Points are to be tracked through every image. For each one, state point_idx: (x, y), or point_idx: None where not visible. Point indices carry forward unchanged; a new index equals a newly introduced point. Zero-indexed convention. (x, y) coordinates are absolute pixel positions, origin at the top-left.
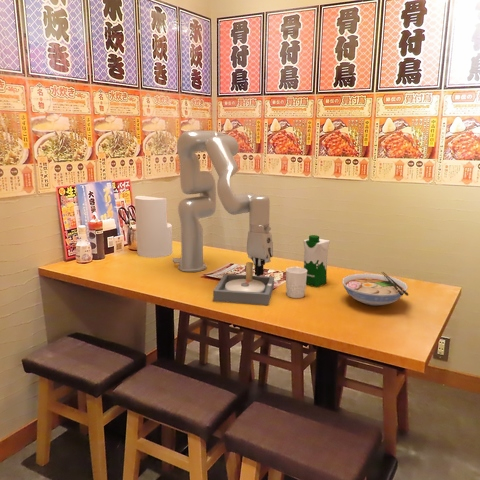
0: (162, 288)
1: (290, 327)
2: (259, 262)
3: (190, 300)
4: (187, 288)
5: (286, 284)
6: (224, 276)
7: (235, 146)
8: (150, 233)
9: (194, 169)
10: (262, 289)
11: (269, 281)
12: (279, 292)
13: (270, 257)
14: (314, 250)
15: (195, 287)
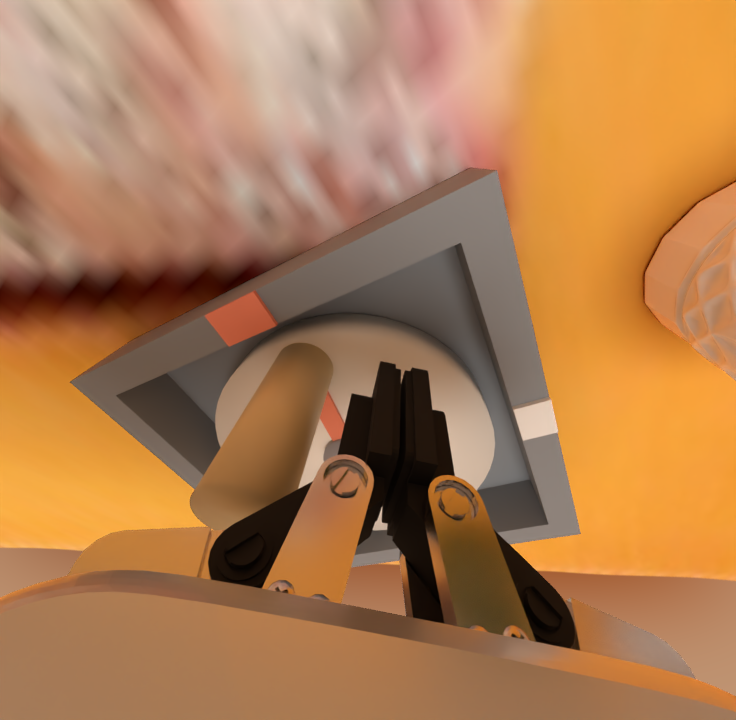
0: (58, 510)
1: (695, 573)
2: (434, 608)
3: None
4: (107, 477)
5: (712, 343)
6: (133, 425)
7: None
8: None
9: None
10: (492, 454)
11: (502, 346)
12: (568, 280)
13: (717, 701)
14: None
15: (113, 457)
